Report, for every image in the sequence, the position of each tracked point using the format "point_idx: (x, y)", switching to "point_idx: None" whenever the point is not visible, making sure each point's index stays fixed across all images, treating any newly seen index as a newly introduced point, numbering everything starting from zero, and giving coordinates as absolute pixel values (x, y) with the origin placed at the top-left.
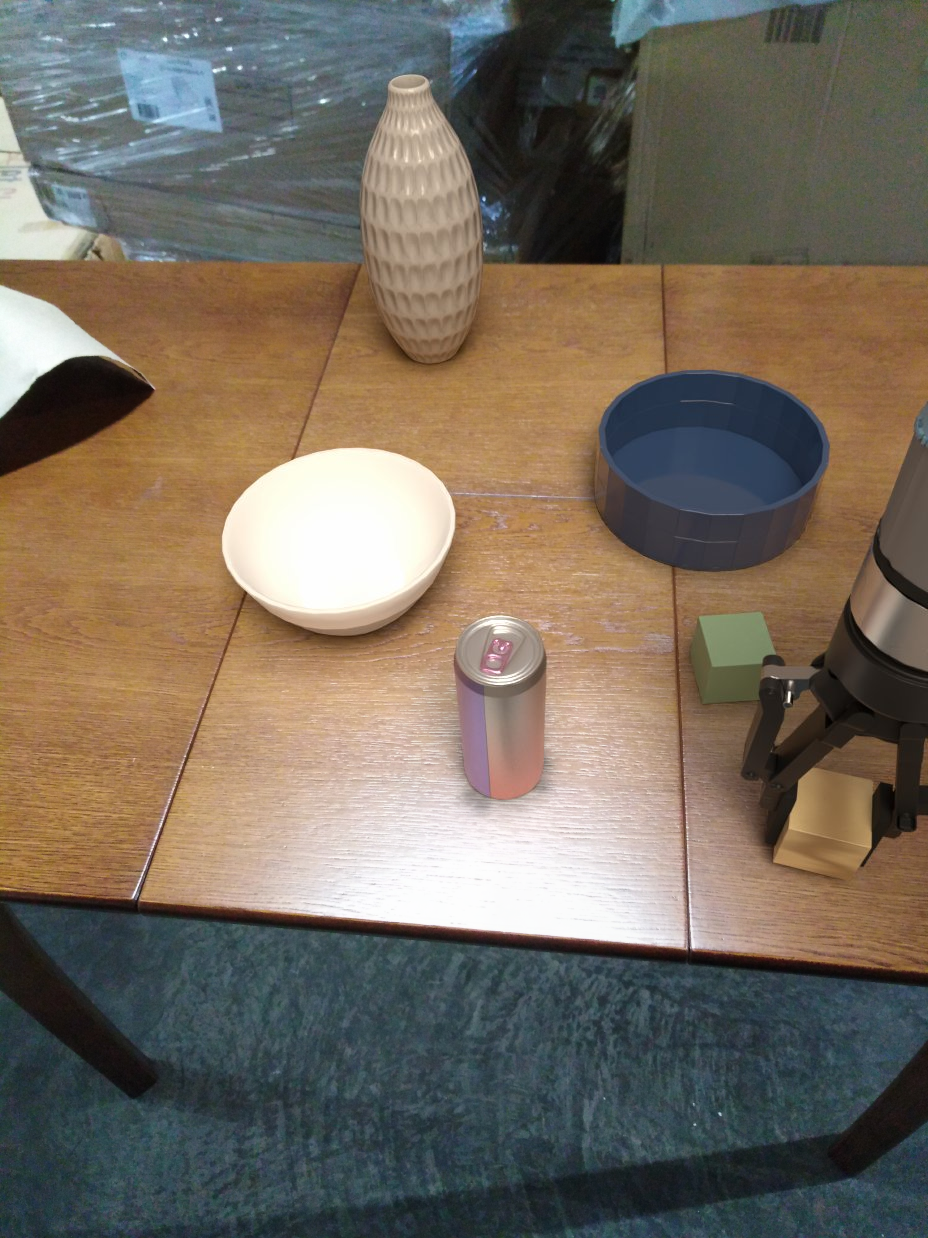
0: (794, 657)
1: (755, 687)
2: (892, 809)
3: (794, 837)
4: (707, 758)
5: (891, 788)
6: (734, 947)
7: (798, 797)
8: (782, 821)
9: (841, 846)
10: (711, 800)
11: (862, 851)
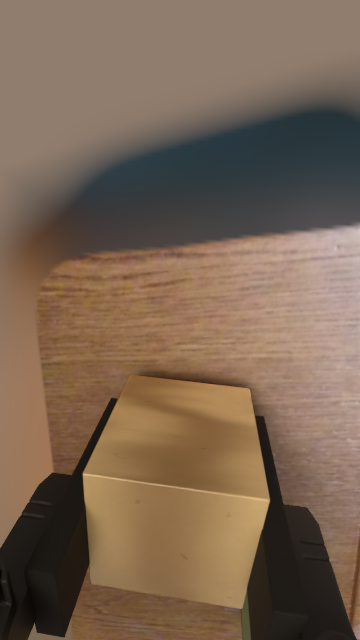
0: (201, 613)
1: None
2: (26, 597)
3: (245, 468)
4: (325, 510)
5: (39, 625)
6: (316, 236)
7: (240, 556)
8: None
9: (146, 463)
10: (326, 459)
11: (103, 457)
